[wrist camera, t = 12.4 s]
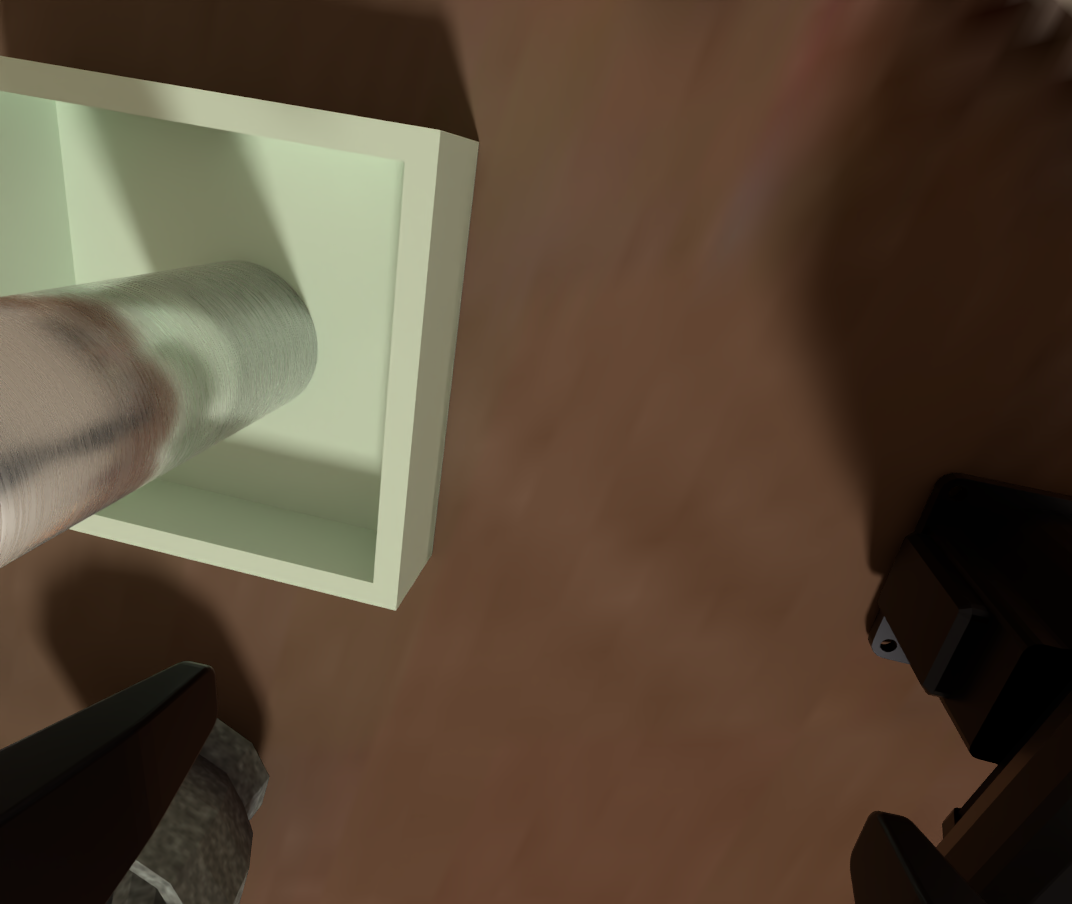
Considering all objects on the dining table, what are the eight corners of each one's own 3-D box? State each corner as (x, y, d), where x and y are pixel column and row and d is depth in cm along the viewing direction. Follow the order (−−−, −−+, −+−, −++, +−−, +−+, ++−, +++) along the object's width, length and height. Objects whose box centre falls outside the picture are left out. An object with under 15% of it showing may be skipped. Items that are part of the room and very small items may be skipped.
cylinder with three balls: (289, 246, 20) (-270, 328, 8) (336, 397, 21) (-68, 658, 9) (156, 276, 21) (-512, 388, 9) (211, 418, 22) (-294, 674, 10)
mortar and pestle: (80, 754, 31) (-237, 1058, 20) (155, 640, 28) (-180, 934, 17) (271, 887, 32) (70, 1244, 21) (368, 794, 29) (186, 1166, 18)
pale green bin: (479, 142, 18) (440, 130, 15) (432, 554, 24) (395, 610, 20) (45, 68, 20) (-75, 43, 17) (91, 472, 25) (7, 513, 22)
